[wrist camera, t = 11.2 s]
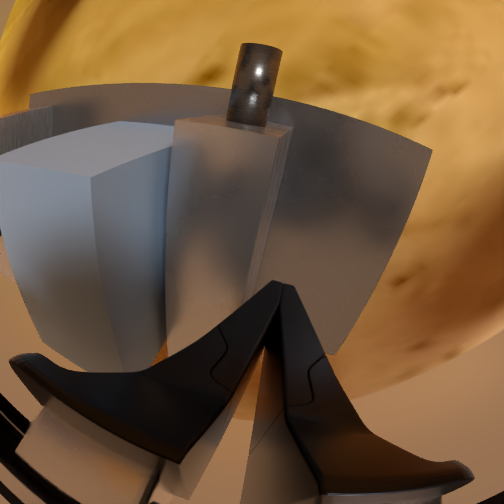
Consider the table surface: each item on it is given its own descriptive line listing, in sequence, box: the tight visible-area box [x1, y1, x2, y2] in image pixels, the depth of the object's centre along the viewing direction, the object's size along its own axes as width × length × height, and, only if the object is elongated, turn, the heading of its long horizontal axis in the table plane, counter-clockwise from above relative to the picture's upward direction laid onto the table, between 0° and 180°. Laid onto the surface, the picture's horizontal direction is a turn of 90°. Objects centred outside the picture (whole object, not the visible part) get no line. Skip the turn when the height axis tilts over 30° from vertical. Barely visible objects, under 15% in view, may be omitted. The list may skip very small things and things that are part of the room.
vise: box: [0, 83, 433, 355], centre depth 11 cm, size 22×12×6 cm, turn 79°
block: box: [0, 121, 174, 372], centre depth 9 cm, size 5×8×7 cm, turn 169°
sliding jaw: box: [165, 43, 294, 357], centre depth 10 cm, size 2×15×4 cm, turn 169°
